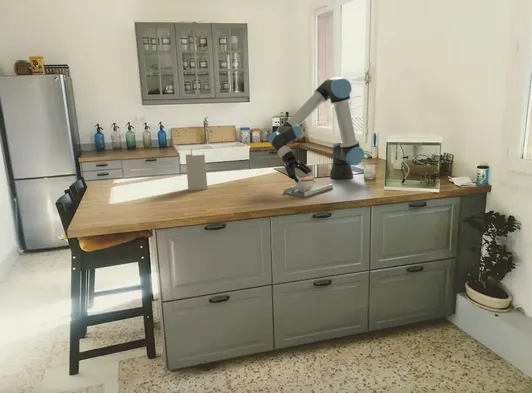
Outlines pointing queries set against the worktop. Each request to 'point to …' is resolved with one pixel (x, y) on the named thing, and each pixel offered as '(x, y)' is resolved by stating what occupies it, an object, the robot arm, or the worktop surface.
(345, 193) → the worktop surface
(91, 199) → the worktop surface
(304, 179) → the lidded jar
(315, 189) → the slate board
